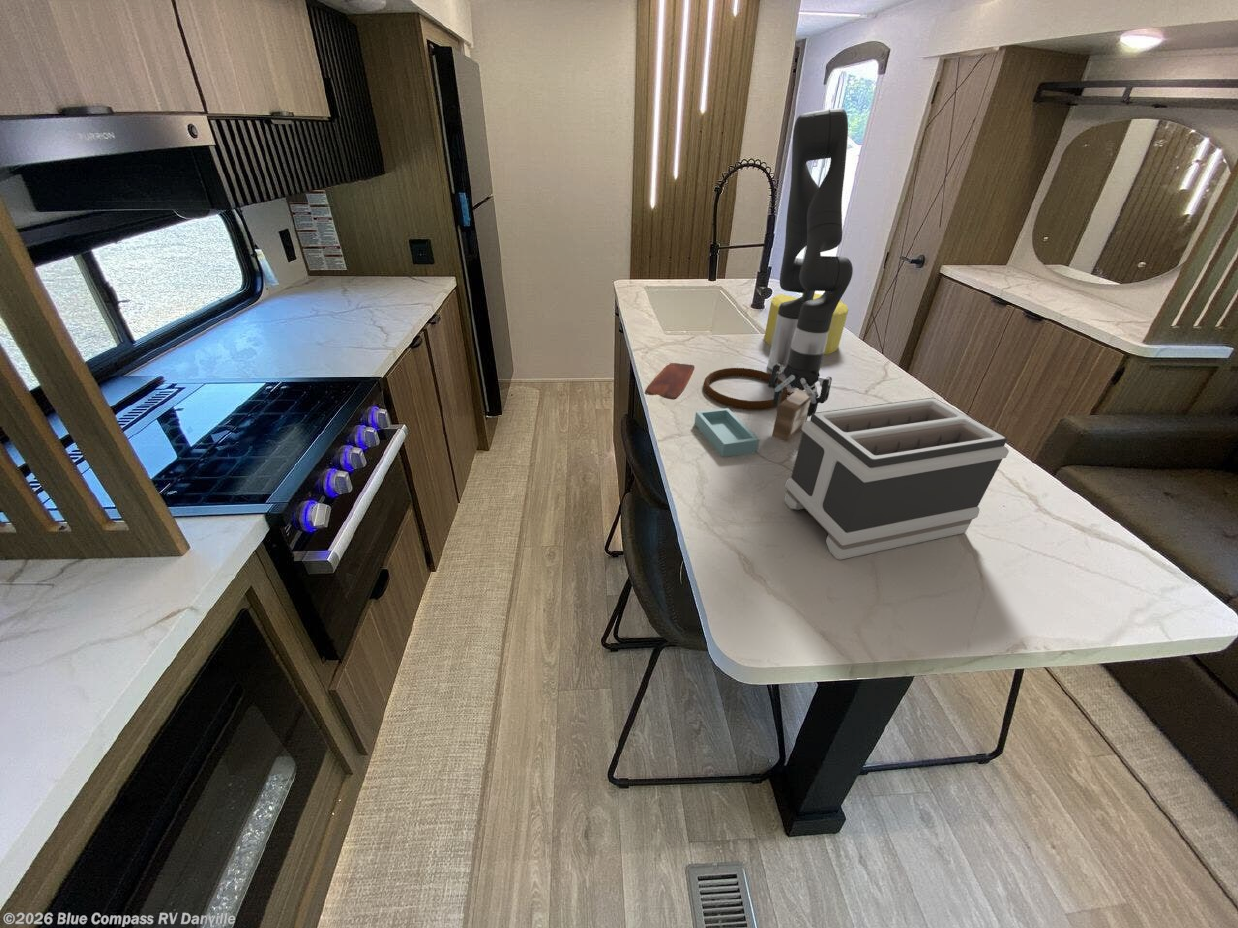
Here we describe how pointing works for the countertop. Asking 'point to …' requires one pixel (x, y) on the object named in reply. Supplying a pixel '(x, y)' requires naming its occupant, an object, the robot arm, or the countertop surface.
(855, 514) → the toaster
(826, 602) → the countertop surface
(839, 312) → the cheese
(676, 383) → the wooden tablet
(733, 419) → the light blue rectangular tray
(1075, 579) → the countertop surface
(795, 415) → the picture frame
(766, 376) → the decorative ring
